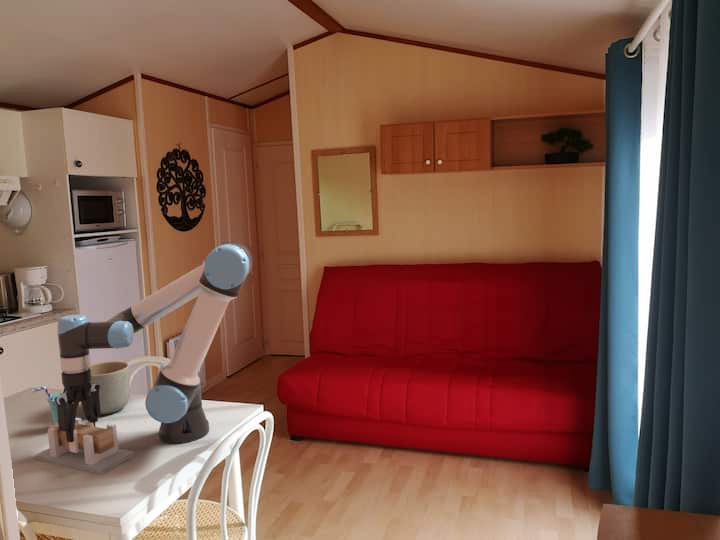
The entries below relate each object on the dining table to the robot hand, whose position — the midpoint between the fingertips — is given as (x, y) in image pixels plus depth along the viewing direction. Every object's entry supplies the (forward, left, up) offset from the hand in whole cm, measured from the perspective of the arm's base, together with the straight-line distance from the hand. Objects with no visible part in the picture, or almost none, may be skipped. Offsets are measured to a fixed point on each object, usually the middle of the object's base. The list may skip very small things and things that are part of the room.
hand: (82, 447), depth 168 cm
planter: (+25, -31, -3) cm, 40 cm away
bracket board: (0, 0, -3) cm, 3 cm away
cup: (+26, -13, -3) cm, 29 cm away
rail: (0, 0, +1) cm, 1 cm away
